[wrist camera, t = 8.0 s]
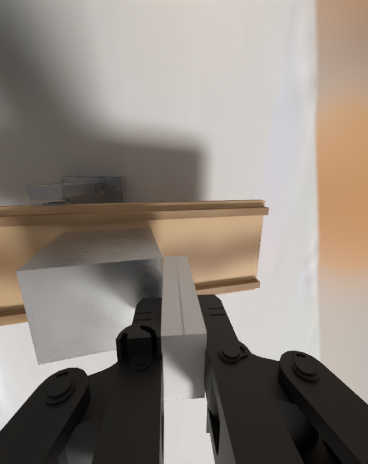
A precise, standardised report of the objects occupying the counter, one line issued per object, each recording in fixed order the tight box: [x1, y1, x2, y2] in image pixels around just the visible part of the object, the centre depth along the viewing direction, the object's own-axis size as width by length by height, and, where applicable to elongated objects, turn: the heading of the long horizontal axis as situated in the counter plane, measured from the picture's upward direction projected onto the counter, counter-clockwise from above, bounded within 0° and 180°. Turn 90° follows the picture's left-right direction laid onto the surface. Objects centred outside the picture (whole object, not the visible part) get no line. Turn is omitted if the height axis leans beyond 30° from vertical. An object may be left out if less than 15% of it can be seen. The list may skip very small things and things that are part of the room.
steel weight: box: [16, 228, 163, 365], centre depth 12 cm, size 5×6×6 cm
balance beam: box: [0, 200, 269, 326], centre depth 12 cm, size 9×32×8 cm, turn 90°
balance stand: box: [28, 177, 126, 204], centre depth 18 cm, size 12×18×10 cm, turn 90°
